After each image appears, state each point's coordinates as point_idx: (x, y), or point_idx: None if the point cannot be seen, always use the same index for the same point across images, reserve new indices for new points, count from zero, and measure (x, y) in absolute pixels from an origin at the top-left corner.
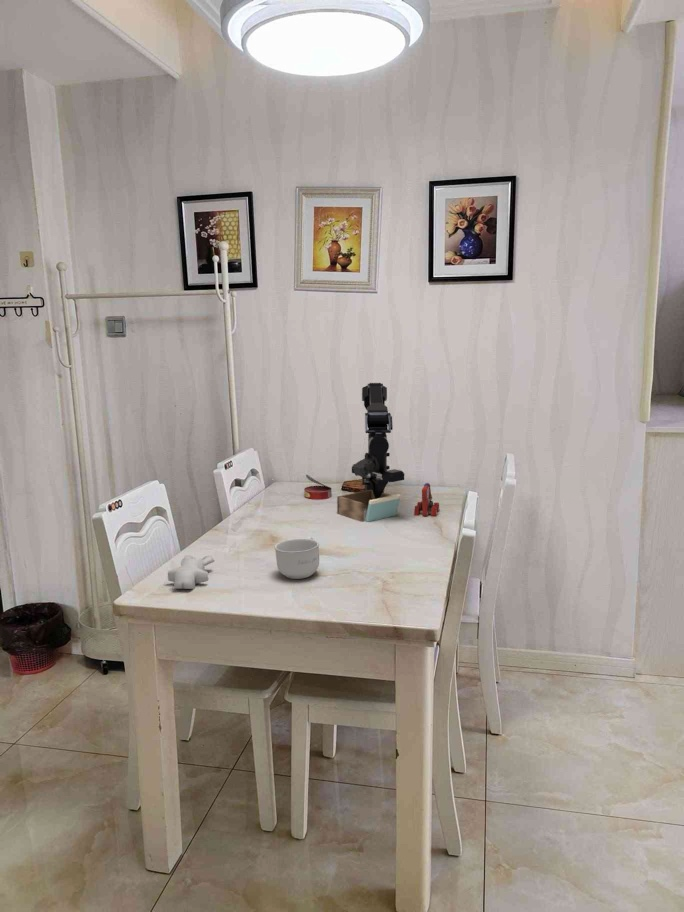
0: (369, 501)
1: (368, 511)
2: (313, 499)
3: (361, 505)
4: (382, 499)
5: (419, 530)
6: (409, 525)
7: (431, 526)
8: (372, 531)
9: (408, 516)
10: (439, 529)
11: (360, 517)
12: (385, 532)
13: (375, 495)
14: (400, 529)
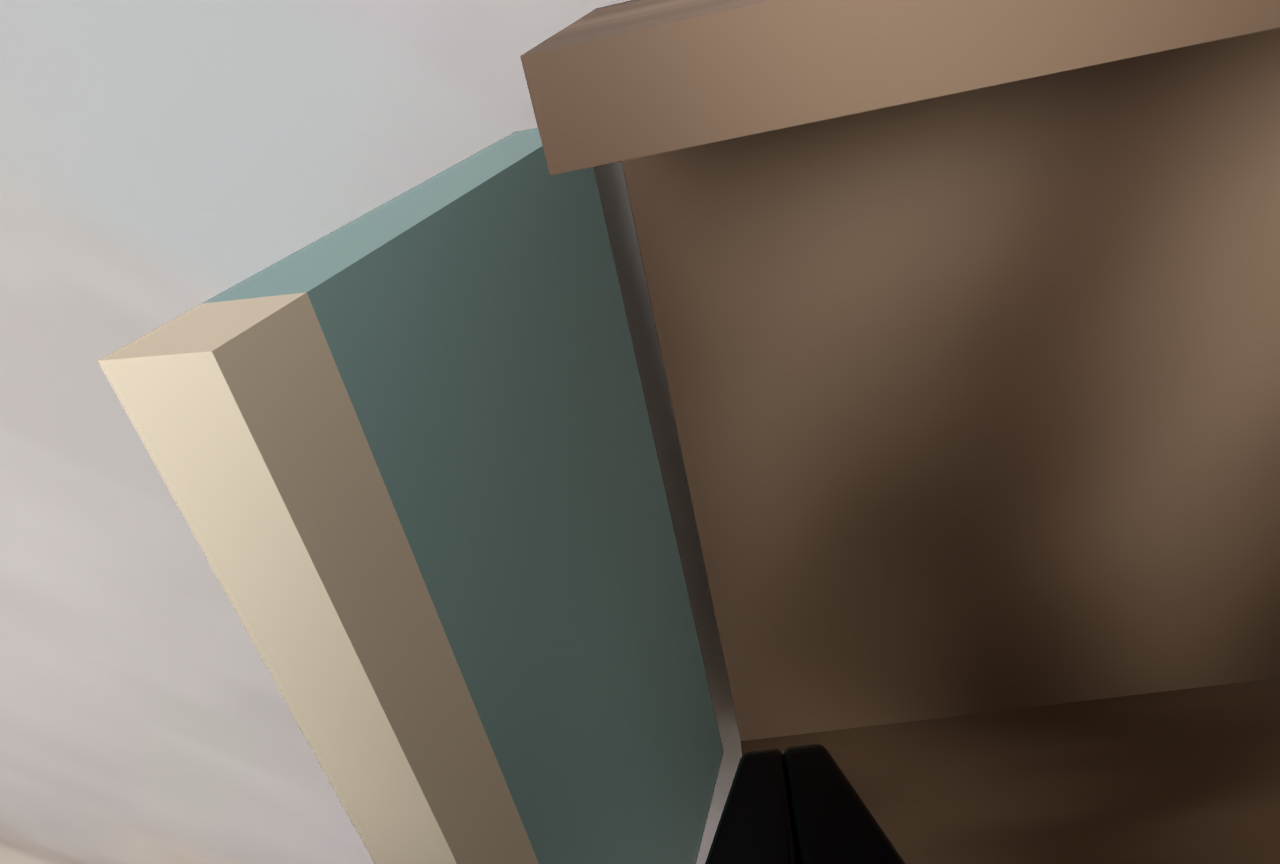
0: (230, 329)
1: (413, 198)
2: None
3: (544, 43)
4: (347, 793)
5: (40, 671)
6: None
7: (185, 838)
8: (137, 10)
9: (704, 851)
10: (40, 842)
11: (630, 6)
12: (20, 212)
13: (800, 835)
14: (146, 503)
